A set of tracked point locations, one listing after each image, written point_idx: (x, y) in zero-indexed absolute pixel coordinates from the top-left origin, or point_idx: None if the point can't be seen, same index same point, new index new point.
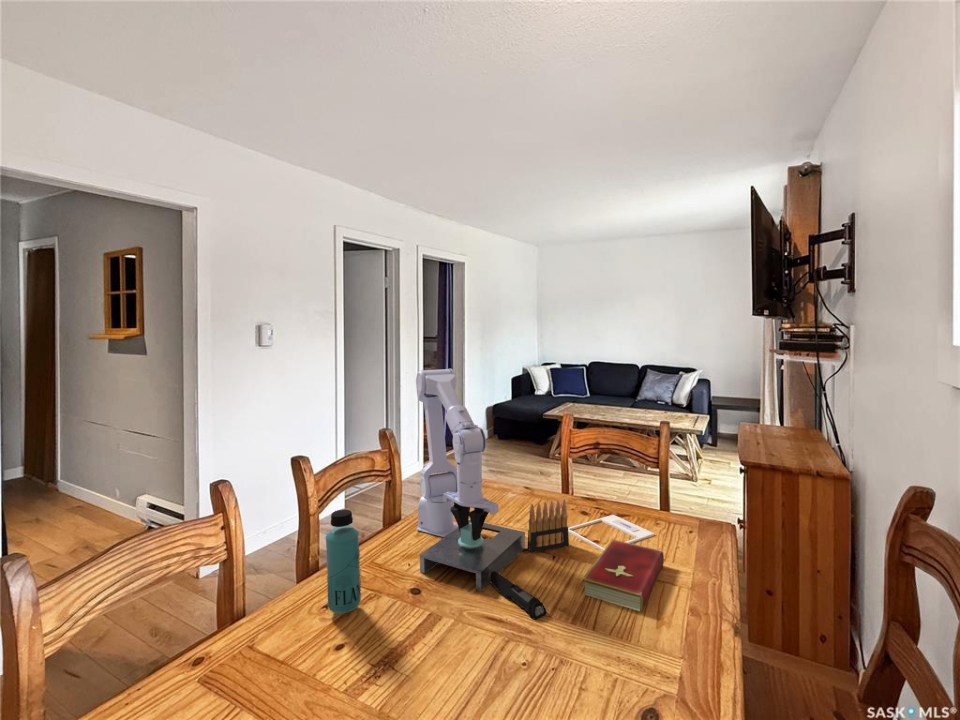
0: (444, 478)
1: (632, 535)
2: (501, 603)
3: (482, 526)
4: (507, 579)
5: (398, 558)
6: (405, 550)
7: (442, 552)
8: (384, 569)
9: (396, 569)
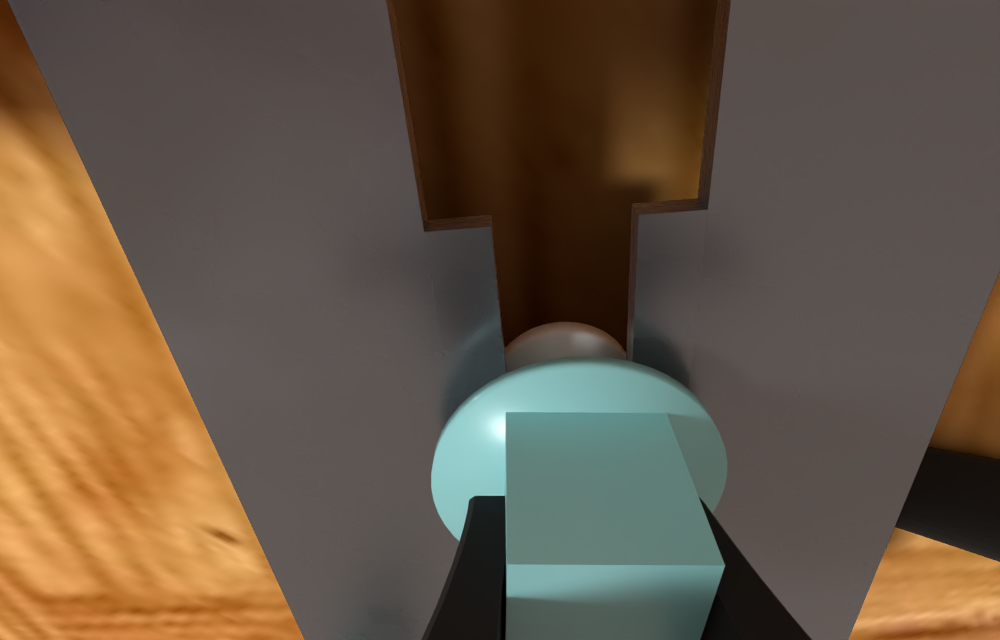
0: None
1: None
2: (928, 556)
3: (797, 630)
4: (994, 527)
5: (103, 523)
6: (14, 442)
7: (433, 609)
8: (176, 613)
9: (222, 590)
